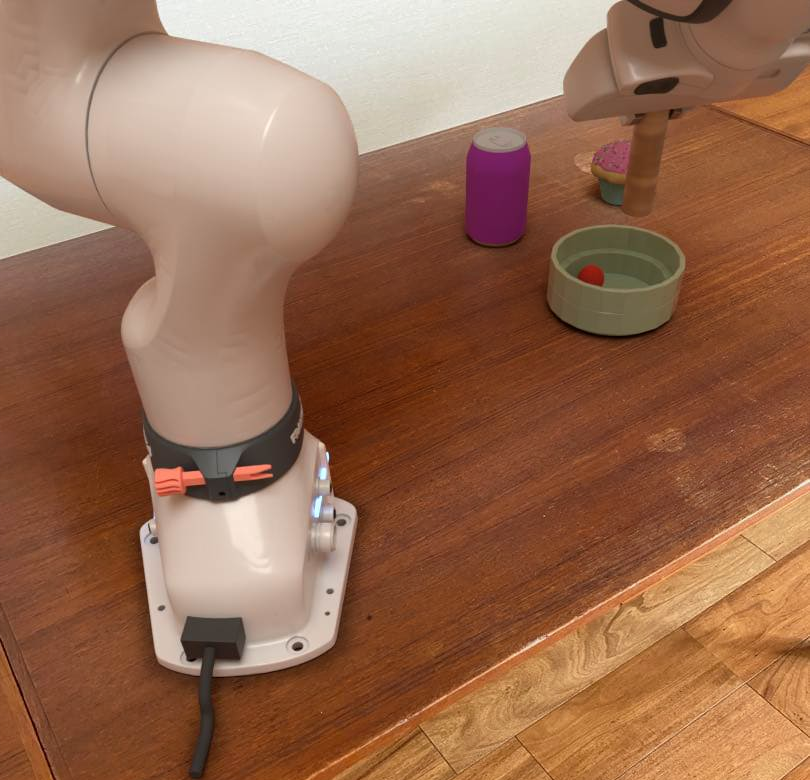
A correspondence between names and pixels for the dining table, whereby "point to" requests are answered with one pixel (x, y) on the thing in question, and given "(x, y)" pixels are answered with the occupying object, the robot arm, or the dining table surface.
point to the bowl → (615, 279)
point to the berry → (591, 275)
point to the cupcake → (612, 169)
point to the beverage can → (497, 186)
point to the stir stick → (644, 163)
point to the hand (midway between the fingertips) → (648, 114)
